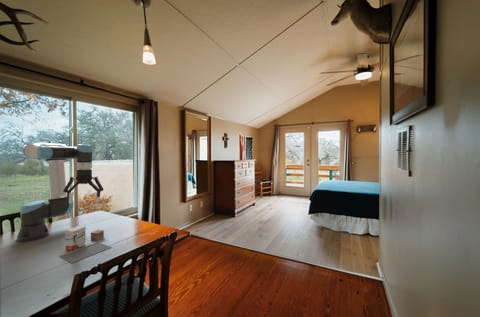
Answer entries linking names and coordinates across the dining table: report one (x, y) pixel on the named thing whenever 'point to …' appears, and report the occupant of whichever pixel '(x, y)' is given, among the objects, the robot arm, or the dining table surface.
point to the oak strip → (79, 248)
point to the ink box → (75, 238)
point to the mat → (84, 252)
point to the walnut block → (97, 235)
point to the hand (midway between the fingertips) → (84, 202)
